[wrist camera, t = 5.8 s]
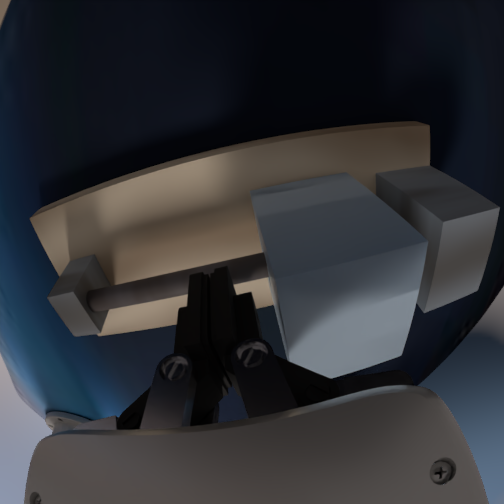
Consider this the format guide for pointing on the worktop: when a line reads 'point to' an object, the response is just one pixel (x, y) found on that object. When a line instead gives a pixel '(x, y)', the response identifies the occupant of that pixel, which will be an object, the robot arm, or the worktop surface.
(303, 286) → the sleeve
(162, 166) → the slider mechanism
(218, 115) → the worktop surface
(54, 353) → the worktop surface
